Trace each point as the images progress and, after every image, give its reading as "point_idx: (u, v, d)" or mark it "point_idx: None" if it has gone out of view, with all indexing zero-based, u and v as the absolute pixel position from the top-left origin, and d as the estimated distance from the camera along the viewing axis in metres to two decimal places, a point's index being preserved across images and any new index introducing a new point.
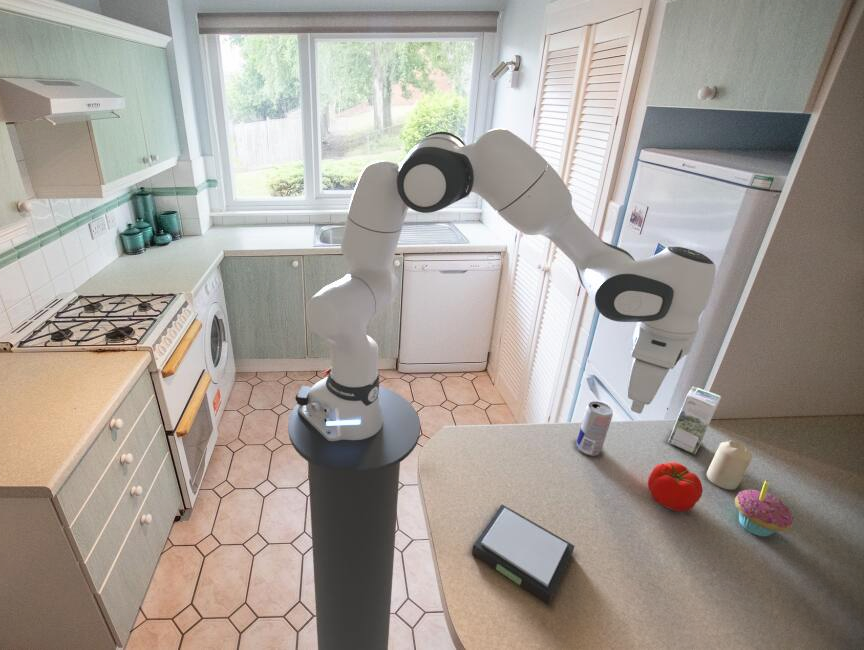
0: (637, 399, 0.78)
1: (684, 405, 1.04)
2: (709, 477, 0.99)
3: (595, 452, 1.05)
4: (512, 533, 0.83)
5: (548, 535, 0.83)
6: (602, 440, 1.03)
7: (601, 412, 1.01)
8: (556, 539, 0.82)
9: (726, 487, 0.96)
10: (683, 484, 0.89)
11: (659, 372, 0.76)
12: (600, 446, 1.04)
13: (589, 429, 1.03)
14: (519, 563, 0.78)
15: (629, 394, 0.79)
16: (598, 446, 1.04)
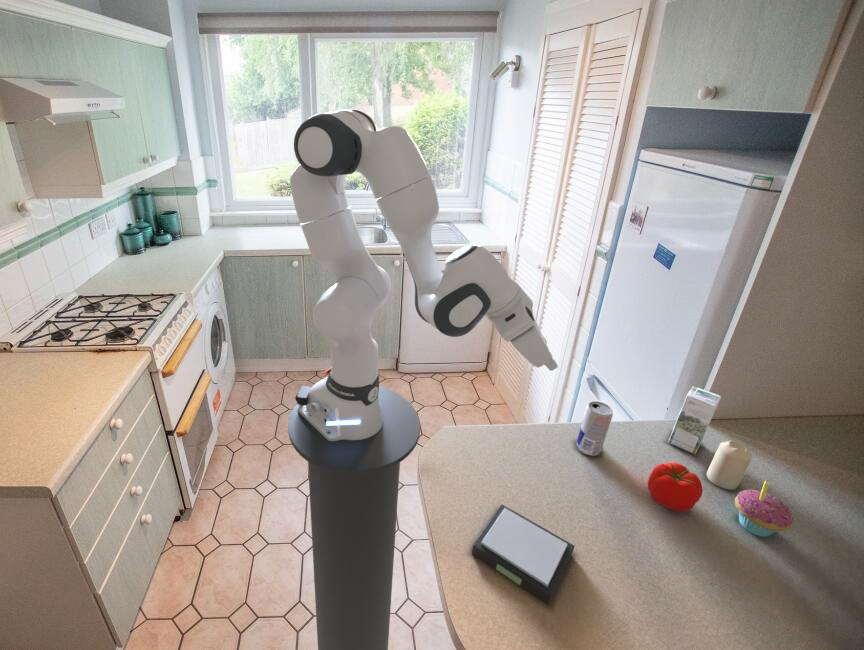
0: (543, 363, 0.85)
1: (684, 405, 1.04)
2: (709, 477, 0.99)
3: (595, 452, 1.05)
4: (512, 533, 0.83)
5: (548, 535, 0.83)
6: (602, 440, 1.03)
7: (601, 412, 1.01)
8: (556, 539, 0.82)
9: (726, 487, 0.96)
10: (683, 484, 0.89)
11: (532, 334, 0.84)
12: (600, 446, 1.04)
13: (589, 429, 1.03)
14: (519, 563, 0.78)
15: (535, 365, 0.85)
16: (598, 446, 1.04)
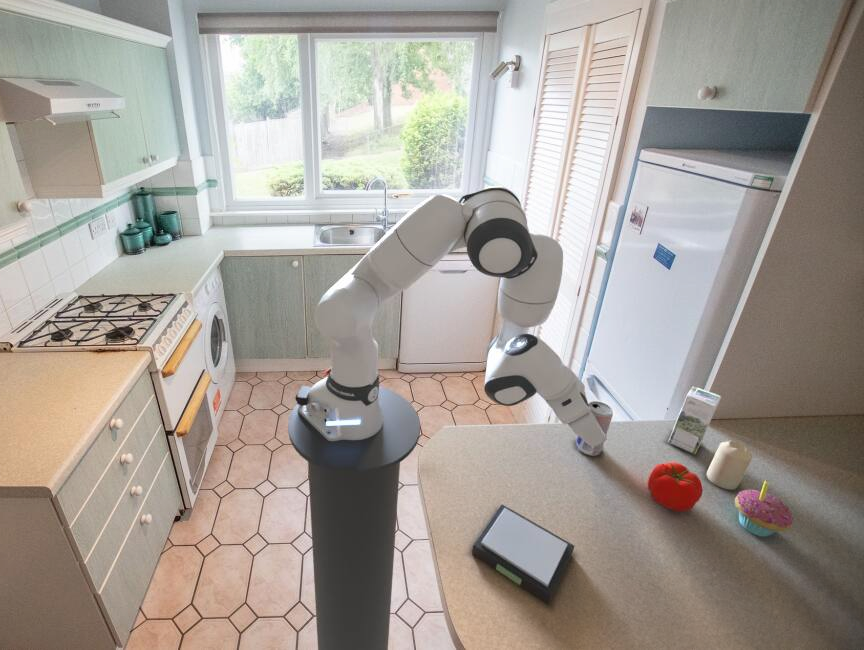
0: (598, 443, 0.95)
1: (684, 405, 1.04)
2: (709, 477, 0.99)
3: (595, 452, 1.05)
4: (512, 533, 0.83)
5: (548, 535, 0.83)
6: None
7: (601, 412, 1.01)
8: (556, 539, 0.82)
9: (726, 487, 0.96)
10: (683, 484, 0.89)
11: (588, 419, 0.93)
12: (600, 446, 1.04)
13: None
14: (519, 563, 0.78)
15: (591, 445, 0.95)
16: (598, 446, 1.04)
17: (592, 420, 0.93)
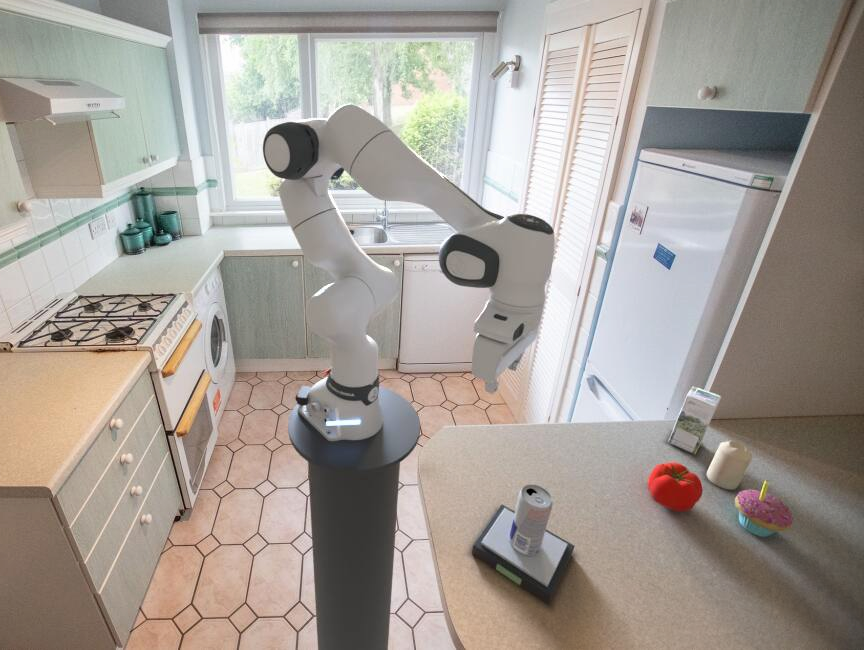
0: (480, 377, 0.74)
1: (684, 405, 1.04)
2: (709, 477, 0.99)
3: (531, 552, 0.79)
4: None
5: (548, 535, 0.83)
6: (540, 537, 0.77)
7: (537, 503, 0.75)
8: (556, 539, 0.82)
9: (726, 487, 0.96)
10: (683, 484, 0.89)
11: (497, 348, 0.71)
12: (538, 544, 0.78)
13: (522, 523, 0.77)
14: (519, 563, 0.78)
15: (472, 372, 0.74)
16: (535, 545, 0.78)
17: (499, 352, 0.71)
